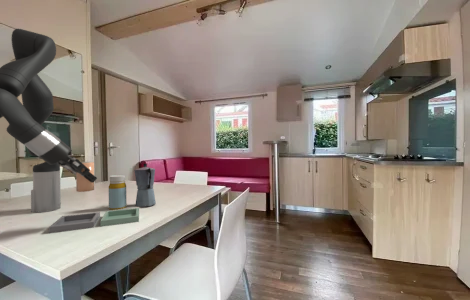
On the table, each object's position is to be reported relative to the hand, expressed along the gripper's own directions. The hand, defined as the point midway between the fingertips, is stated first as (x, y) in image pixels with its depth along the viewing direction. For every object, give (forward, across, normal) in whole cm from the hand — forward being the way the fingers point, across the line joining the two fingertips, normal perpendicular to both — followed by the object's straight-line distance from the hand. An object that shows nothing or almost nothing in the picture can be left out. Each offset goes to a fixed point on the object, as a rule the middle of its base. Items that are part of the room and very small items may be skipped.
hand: (91, 179), depth 78 cm
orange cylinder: (+1, 0, +4) cm, 4 cm away
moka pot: (+30, +6, -7) cm, 31 cm away
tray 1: (+9, +2, +14) cm, 17 cm away
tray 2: (+17, -6, +6) cm, 19 cm away
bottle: (+22, +12, +1) cm, 25 cm away
